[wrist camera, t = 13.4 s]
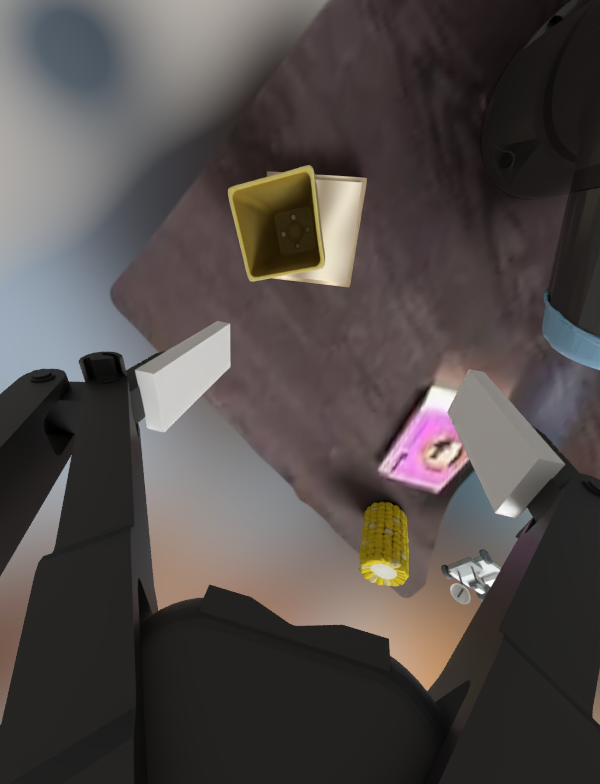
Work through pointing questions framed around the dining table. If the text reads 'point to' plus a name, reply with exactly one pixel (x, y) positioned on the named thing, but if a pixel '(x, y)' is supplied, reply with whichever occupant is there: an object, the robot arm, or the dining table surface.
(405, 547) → the food
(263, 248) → the flower pot
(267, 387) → the dining table surface
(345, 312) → the dining table surface
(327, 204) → the cream square block
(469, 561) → the toy car
